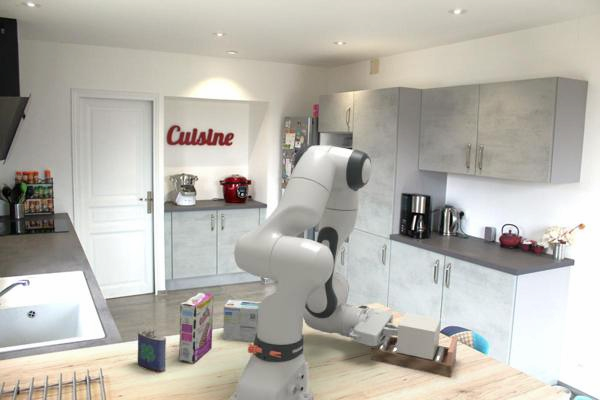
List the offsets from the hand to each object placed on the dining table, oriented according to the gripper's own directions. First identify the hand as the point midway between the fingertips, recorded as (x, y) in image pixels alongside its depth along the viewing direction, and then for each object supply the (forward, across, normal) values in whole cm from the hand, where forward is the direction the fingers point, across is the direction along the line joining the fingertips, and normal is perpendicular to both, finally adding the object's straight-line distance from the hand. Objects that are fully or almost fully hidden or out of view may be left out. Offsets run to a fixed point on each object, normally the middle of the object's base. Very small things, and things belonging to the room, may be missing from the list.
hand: (401, 332), depth 145 cm
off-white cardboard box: (+5, 0, +4) cm, 6 cm away
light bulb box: (-47, -10, +8) cm, 49 cm away
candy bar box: (-52, -27, +8) cm, 59 cm away
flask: (-58, -39, +8) cm, 70 cm away
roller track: (+4, 0, +8) cm, 8 cm away
